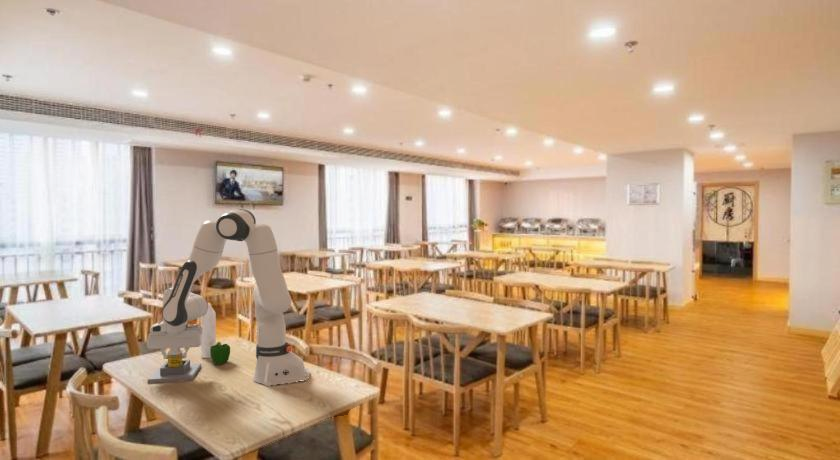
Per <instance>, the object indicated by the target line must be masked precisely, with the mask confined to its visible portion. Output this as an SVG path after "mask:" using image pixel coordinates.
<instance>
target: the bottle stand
mask: <svg viewBox="0 0 840 460" xmlns="http://www.w3.org/2000/svg"><path fill="white" fill-rule="evenodd" d="M201 368H202V363H191V359H182V366H180V367H168V360H166V362H164V364H163V365H159V367H158V368H157V369H156V370H155V371H154V372H153V373H152V374H151V375H150V376H149V377H148V379H147V384H155V383H157V384H158V383H171V382H173V383H174V382H176V383H177V382H188V381H189V382H190V381H193V379H194V377H196V375H197V374H198V372H199V370H200V369H201Z"/></svg>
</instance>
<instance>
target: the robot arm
mask: <svg viewBox="0 0 840 460" xmlns="http://www.w3.org/2000/svg"><path fill="white" fill-rule="evenodd" d="M256 220H257V219H256V217H255V215H254V214H253V213H252V212H251V211H250V210H247V209H243V208H241V209H240V208H239V209H234V210H230V211H228V212H224V213H223V214H222V215H221V216H219V217H218V218H217V220H205V221H204V222H202V223H201V225H200V226H199V229H198V231H197V233H196V236H195V238H194V242H193V245H192V249H191V251H190V254H189V255H188V258H187V259H186V261H185V262H184V263H183V264H182V266H181V268H180V269H179V273H178V274H177V278H176V280H175V283H174V286H172V287H168V288H166V289H164V291H163V295H162V296H163V297H162V310H161V316H162V321H159V322H156V323H154V324H152V325H150V327H149V333H148V335H147V340H146V341H147V342H146V348H148V349H149V350H160V352H161V354H162V355H163V360H168V352H166V349H169V348H171V347H177V348H180V349H184V351H185V352H182V359H186V358H187V354H188V351H189V350H190V348H199V347H201V344H202V336H201V334H202V327H201V325H199V324H188V322H191V321H194V320H196V319H199V318H200V319H201V317H202V316H204V315H205V314H206V312H207V310H208V303H209V302H208V301H207V299H206V298H205V297H204V296H202V295H200V294H196V293H193V292H192V291H191V290H192V288H193V285H194V283H196V281H197V279H199V278H200V277H201V276H202V275H204V274H205V273H208V272H209V271H211V270H213V269H215V268H216V267H217V265H219V264H220V263H219V262H220V261H221V258H222V256H223V253H224V248H225V246H226V245H225V244H226V241H227V240H228V241H229V240H230V241H236V242H237V241H238V242H245V244H246V247H247V250H248V251H247V252H248V258H249V262H250V263H249V264H250V267H251V271H252V272H251V273H252V275H253V277H254V280H255V283H256V286H255V288H254V289H253V301H254V312H255V319H256V327H257V328H256V329H257V339H256V340H257V341H256V343H257V344H256V347H255V358H256V363H255V365H256V366H255V371H254V374H253V377H252V380H253V382H255V383H258V384H263V385H264V386H266V387H271V385H273V386H278V385H277V384H281V385H284V384H283V383H288V384H291V383H290V382H296V381H300V380H305V379H307V378H308V377H309V375H310V376H311V373H310V370H309V368H307V367H305V364H304V361H303V359H302V357H300V356H298V355H297V354H296V353H294V352H292V346H291V345H292V344H291V343H290V342H287V340H286V328H287V327H286V320H285V318H284V313H286V312H287V311H288V310H289V309H290V307H291V304H292V297H291V295H290V291H289V288H288V287H287V286H288V285H287V283H286V280H285V277H284V274H283V271H282V268H281V262H280V257H279V252H278V246H277V241H276V239H275V238H276V237H275V236H274V233H273V230H272V228H271V227H270V226H269V225H267V224H265V223H257V222H256ZM309 378H310V377H309ZM309 378H308V379H309ZM308 379H307V380H308ZM296 383H297V382H296Z"/></svg>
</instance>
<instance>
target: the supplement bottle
mask: <svg viewBox="0 0 840 460" xmlns="http://www.w3.org/2000/svg"><path fill="white" fill-rule="evenodd" d="M168 349H169V350H168V352H167V354H168V359H167V361H168V367H180V366H182V360H183V358H182V353H183V350H182V349H181V348H177V347H171V348H168Z"/></svg>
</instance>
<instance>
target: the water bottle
mask: <svg viewBox="0 0 840 460" xmlns="http://www.w3.org/2000/svg"><path fill="white" fill-rule="evenodd" d="M207 303H208V310H207V312H206V314H205V315H204V316H202V317H200V326H201V327H202V334H201V336H202V344H201V345H200V357H201V358H202V359H210V358H211V353H210V348H211V346H215V345H216V344H217V341H216V340H217V338H216V337H217V322H216V321H217V320H216V317H217V316H216V315H217V314H216V310H215V309H214V308H213V307H212V304H211V302H207ZM211 359H212V358H211Z"/></svg>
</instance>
